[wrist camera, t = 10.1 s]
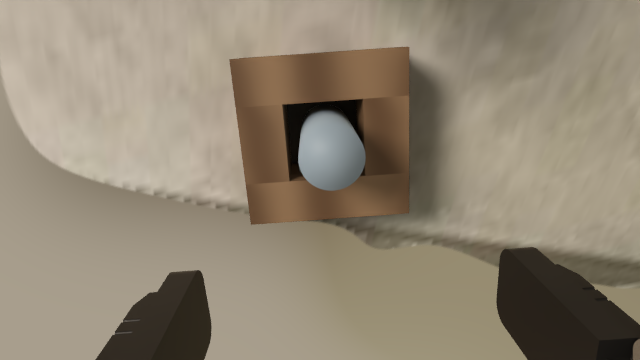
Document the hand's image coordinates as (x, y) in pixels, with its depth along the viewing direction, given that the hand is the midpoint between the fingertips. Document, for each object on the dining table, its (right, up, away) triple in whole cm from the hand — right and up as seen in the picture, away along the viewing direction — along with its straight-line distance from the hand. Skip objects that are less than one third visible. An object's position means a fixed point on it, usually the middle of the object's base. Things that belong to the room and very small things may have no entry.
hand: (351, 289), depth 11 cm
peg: (0, +7, +22) cm, 24 cm away
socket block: (-1, +7, +22) cm, 24 cm away
